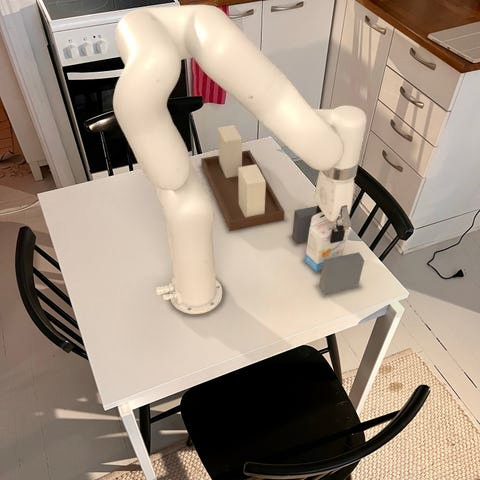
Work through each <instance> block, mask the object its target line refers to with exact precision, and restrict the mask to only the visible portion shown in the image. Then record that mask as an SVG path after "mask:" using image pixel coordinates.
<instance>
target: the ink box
mask: <svg viewBox="0 0 480 480" xmlns="http://www.w3.org/2000/svg"><path fill="white" fill-rule="evenodd" d="M323 214H324V213H323V212H320V213H318V214H316V215H314V216H313V217H312V220H311V225H310V229H309V236H308V242H306V243H307V244H306V250H305V251H306V252H305V258H304V262H305V264H307V265H308V266H309V267H310V268H311V269H312V270H314V271H315V272H316V273H317V272H320V271H322V267H323V261H324V260H326V259H330V258H335V257H339V256H344V255H343V254H344V251H345V245H346V241H347V237H348V232H349V228H348V229H347V230H345V234H344V239H343V241H340V242H336V243H331V242H330V237H331V232H332V229H334V226H333V221H329V220H328V219H327V218H326V216H324V217H321V218H320V216H322V215H323ZM339 216H340V215H339ZM339 216H338V217H339ZM337 224H338V226H339V225H342V219H340V220H337Z"/></svg>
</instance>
